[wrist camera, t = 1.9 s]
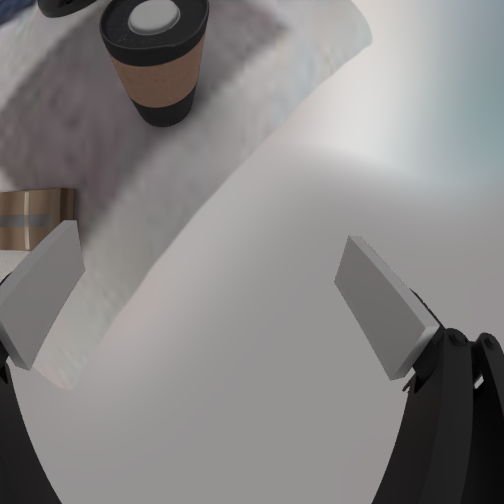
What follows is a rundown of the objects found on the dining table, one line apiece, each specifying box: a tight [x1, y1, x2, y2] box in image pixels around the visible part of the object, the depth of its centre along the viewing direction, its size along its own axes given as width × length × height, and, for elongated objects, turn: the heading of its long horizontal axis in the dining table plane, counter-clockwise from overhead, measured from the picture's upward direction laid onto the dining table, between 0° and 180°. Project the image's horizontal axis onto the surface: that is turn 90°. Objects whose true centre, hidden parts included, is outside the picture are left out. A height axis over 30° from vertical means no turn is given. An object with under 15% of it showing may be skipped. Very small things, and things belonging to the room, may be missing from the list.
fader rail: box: [0, 188, 75, 251], centre depth 25 cm, size 23×8×4 cm, turn 86°
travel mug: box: [100, 0, 209, 127], centre depth 20 cm, size 8×8×20 cm
